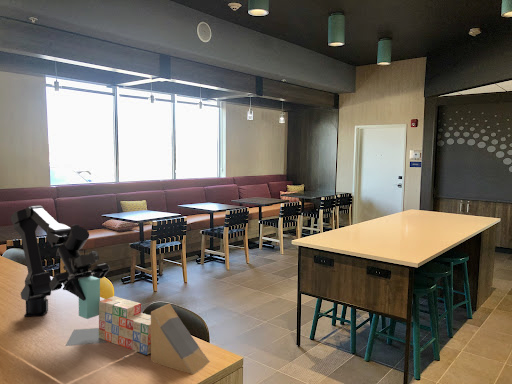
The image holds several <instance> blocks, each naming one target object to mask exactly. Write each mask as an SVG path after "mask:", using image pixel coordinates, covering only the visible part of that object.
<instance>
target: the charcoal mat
mask: <svg viewBox="0 0 512 384" xmlns="http://www.w3.org/2000/svg"><path fill="white" fill-rule="evenodd" d="M107 342H108V341H106V340H104V339H101V338H99V327H94V328H93V327H92V328H77V329H73V330H72V333H71V334H70V336H69V338H68V339H67V341H66V343H65V347H67V346H69V347H70V346H77V345H78V346H80V345H82V346H83V345H93V344H94V345H95V344H96V345H97V344H107Z"/></svg>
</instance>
